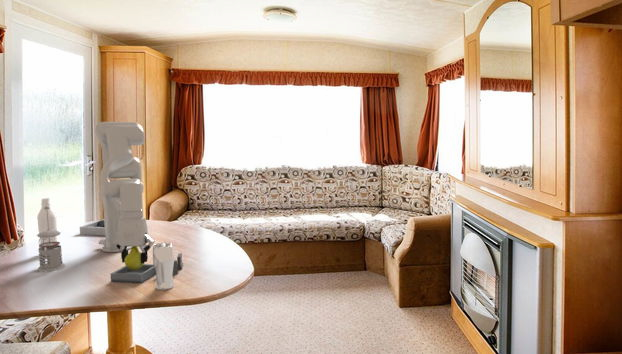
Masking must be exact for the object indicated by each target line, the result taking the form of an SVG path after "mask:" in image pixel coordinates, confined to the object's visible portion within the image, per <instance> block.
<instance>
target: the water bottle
mask: <svg viewBox="0 0 622 354" xmlns="http://www.w3.org/2000/svg"><path fill="white" fill-rule="evenodd" d="M40 205H41V208H40V210H39V212H38V214H37V218H36V219H37V225H38V226H37V227H38V234H39V233H41V232H43V231H46V230H48V225H49V230H56V231H58V226H57V225H58V223H57V215H56V212H55V211H54V209H53V208H52V206H51V201H50V198H41V203H40ZM45 206H49V208H50V209H44V207H45ZM47 212H48V221H47ZM49 238H50V242H52V241H53V242H58V236H54V237H47V239H46V238H42V237H41V238H40V237H39V239H40V242H39V244H42V243H43V240H42V239H46V240H44V243H47V242H49ZM40 248H41V247H40ZM55 249H57V248H55ZM45 250H46V247H45Z"/></svg>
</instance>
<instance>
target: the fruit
mask: <svg viewBox="0 0 622 354" xmlns="http://www.w3.org/2000/svg"><path fill="white" fill-rule="evenodd" d="M141 253H142V251H140V249H139V247H134V246H132V248H130V251H129V252H128V255H127V256H126V257H125V260H124V261H125V262H124V266H127V268H129V269H131V270H138V269H140V268H141V267H142V266H143V264H145V263H141Z"/></svg>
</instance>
